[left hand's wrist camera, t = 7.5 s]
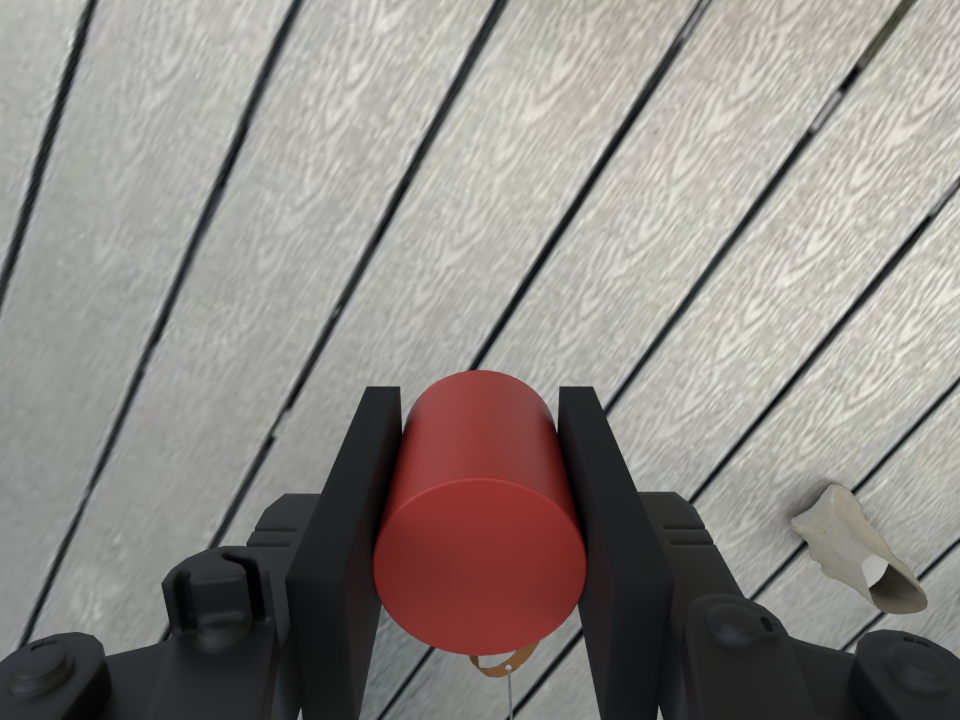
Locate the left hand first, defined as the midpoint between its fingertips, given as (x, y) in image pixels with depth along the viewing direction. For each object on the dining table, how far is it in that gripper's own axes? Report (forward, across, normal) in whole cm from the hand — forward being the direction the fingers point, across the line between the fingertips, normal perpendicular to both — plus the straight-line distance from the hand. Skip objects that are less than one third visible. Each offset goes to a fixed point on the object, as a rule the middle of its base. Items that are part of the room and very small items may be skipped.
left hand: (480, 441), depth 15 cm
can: (0, 0, 0) cm, 0 cm away
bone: (+31, -29, +24) cm, 49 cm away
